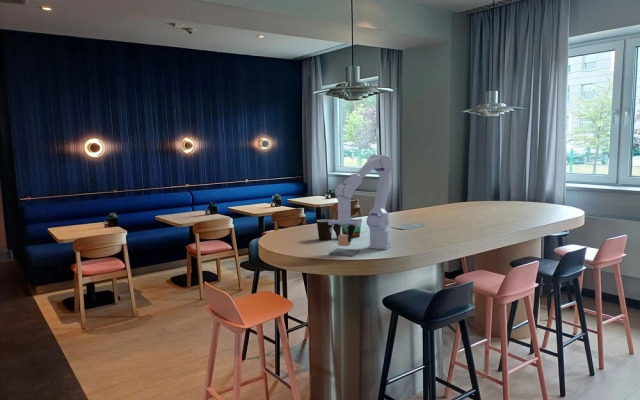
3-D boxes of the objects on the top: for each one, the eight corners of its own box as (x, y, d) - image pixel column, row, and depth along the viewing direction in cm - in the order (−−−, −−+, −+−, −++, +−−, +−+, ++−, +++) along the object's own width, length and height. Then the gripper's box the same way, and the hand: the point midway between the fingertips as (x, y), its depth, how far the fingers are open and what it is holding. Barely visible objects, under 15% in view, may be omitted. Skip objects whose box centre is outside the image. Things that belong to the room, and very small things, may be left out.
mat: (359, 251, 215) (359, 249, 215) (352, 256, 205) (352, 254, 205) (336, 249, 219) (336, 248, 219) (328, 254, 209) (328, 253, 209)
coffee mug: (323, 241, 239) (323, 222, 238) (313, 239, 246) (313, 220, 245) (341, 239, 246) (341, 220, 245) (331, 236, 253) (330, 218, 252)
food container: (342, 239, 246) (342, 220, 245) (339, 237, 252) (339, 218, 251) (365, 237, 248) (365, 219, 247) (361, 235, 254) (361, 217, 253)
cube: (350, 244, 213) (350, 234, 212) (347, 246, 209) (347, 236, 208) (341, 243, 215) (341, 234, 214) (338, 245, 210) (338, 235, 210)
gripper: (325, 211, 209) (326, 241, 210) (357, 213, 204) (357, 244, 205) (331, 210, 216) (331, 239, 217) (361, 211, 210) (361, 241, 212)
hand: (344, 241), depth 212 cm, fingers closed on cube, 4 cm apart
